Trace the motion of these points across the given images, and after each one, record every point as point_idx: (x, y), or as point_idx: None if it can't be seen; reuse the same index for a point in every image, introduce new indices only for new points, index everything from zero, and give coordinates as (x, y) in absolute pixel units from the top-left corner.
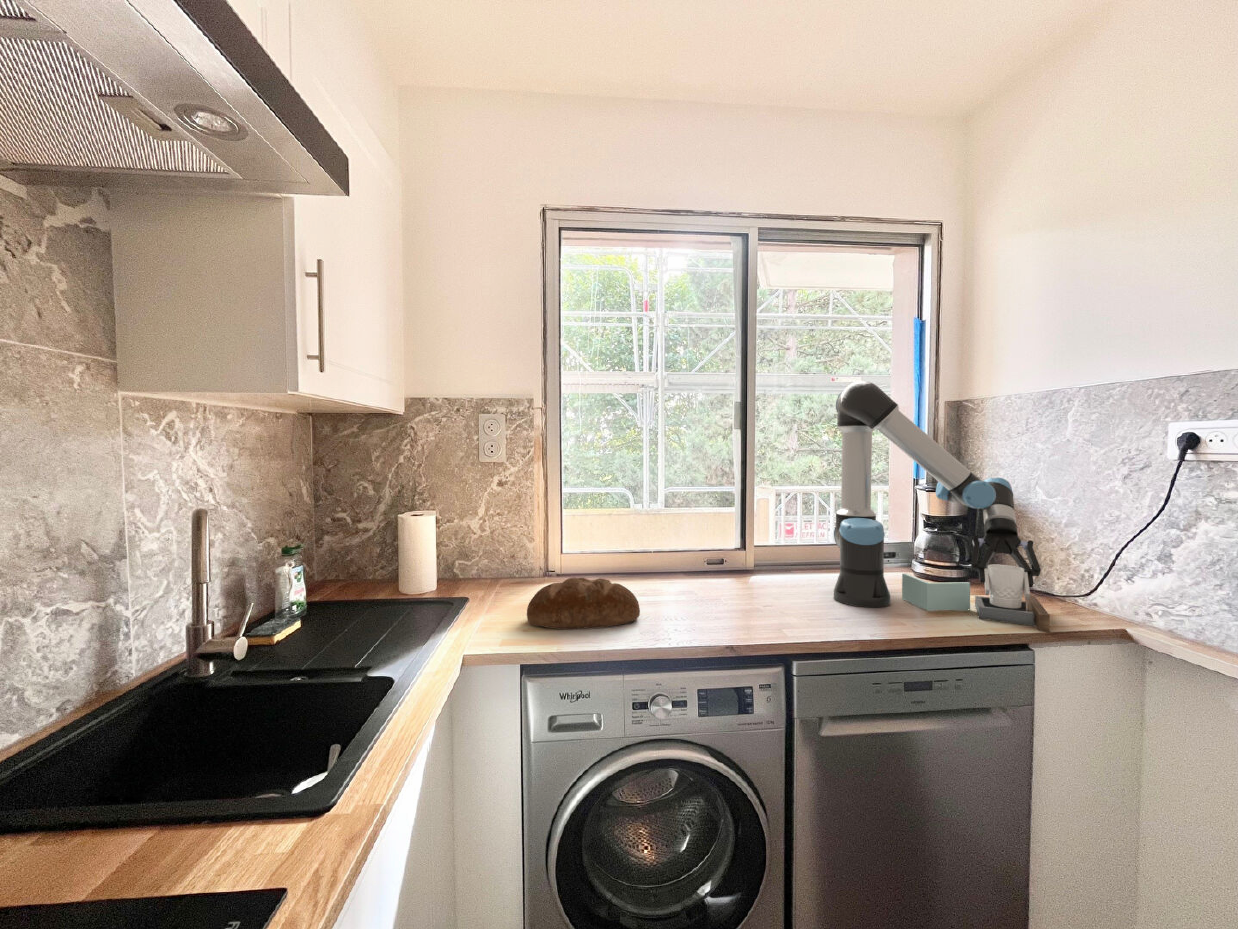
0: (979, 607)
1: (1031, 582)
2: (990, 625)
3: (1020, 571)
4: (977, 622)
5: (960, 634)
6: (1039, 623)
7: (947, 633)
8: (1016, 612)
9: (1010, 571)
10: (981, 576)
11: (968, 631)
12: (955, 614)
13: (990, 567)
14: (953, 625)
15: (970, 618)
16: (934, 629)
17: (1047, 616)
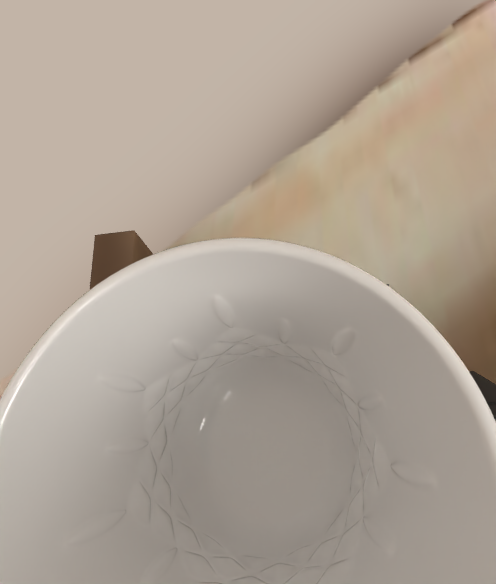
0: (387, 284)
1: None
2: (323, 235)
3: (68, 312)
4: (372, 249)
5: (401, 80)
6: (149, 251)
7: (439, 67)
8: None
9: (185, 249)
10: (488, 399)
11: (384, 121)
12: (482, 329)
13: (439, 334)
14: (445, 157)
15: (408, 296)
16: (487, 80)
17: (106, 236)
